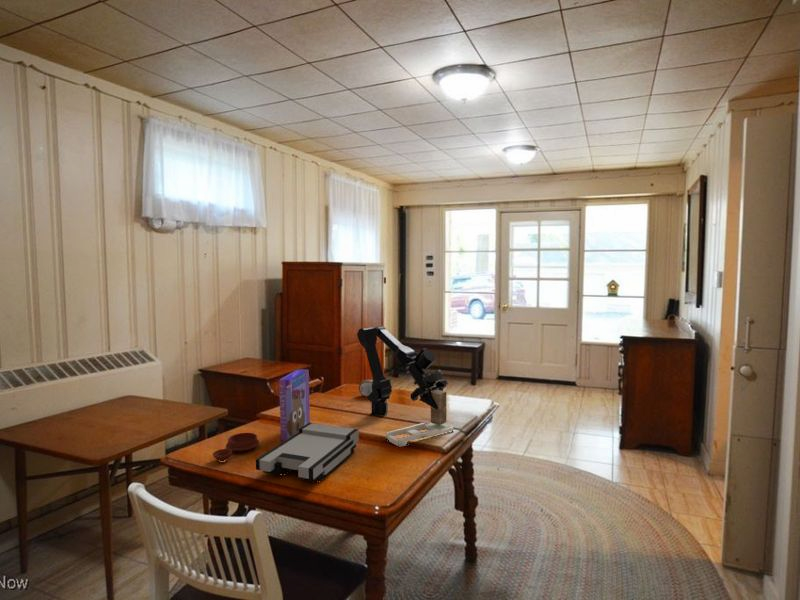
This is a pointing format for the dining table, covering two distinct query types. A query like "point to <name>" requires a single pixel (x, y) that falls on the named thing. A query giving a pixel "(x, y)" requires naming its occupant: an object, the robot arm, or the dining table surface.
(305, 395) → the cereal box
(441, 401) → the walnut block
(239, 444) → the pottery
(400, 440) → the box
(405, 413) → the dining table surface
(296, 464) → the game console
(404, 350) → the robot arm
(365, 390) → the tin
